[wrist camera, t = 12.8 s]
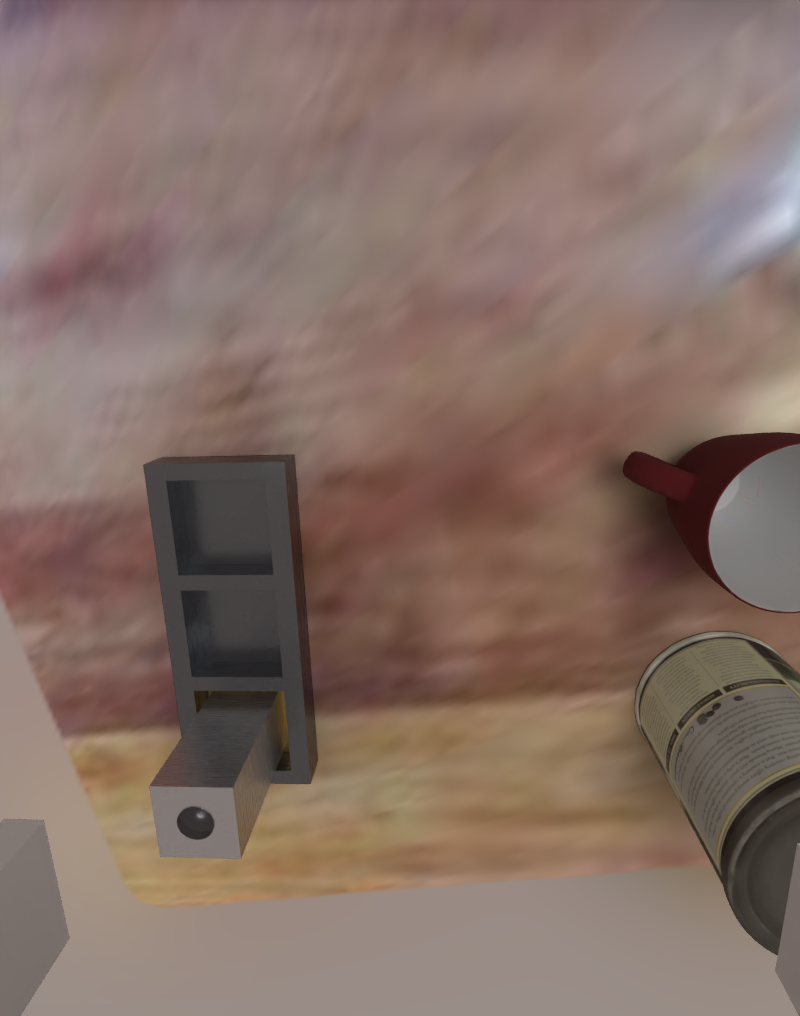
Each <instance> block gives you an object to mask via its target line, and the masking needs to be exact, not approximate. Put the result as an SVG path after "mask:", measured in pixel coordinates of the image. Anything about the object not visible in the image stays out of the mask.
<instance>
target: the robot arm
mask: <svg viewBox="0 0 800 1016" xmlns="http://www.w3.org/2000/svg"><path fill="white" fill-rule="evenodd" d="M68 940H69V934H68V929H67V924H66V920H65V915H64V911H63V906H62V901H61V897H60V893H59V888H58V883H57V878H56V874H55V870H54V865H53V860H52V856H51V851H50V847H49V842H48V837H47V833H46V828H45V823H44V820H26V819H3V820H2V822H1V823H0V1016H21V1014H22V1013H23V1011H24V1010H25V1008H26V1006H27V1005H28V1003H29V1002H30V1000H31V999H32V997H33V995H34V994H35V992H36V991H37V989H38V987H39V986H40V984H41V983H42V981H43V979H44V978H45V976H46V975H47V973H48V972H49V970H50V968H51V967H52V965H53V963H54V962H55V960H56V959H57V957H58V955H59V954H60V952H61V951H62V949H63V948H64V946H65V944H66V943H67V941H68ZM775 971H776V973H777V975H778V977H779V979H780V981H781V982H782V984H783V986H784V988H785V990H786V992H787V994H788V996H789V998H790V1000H791V1002H792V1003H793V1005H794V1007H795V1009H796V1011H797V1013H798V1015H799V1016H800V843H797V848H796V853H795V859H794V865H793V871H792V877H791V882H790V888H789V894H788V900H787V905H786V911H785V917H784V923H783V929H782V934H781V940H780V946H779V952H778V958H777V963H776V969H775Z"/></svg>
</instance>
